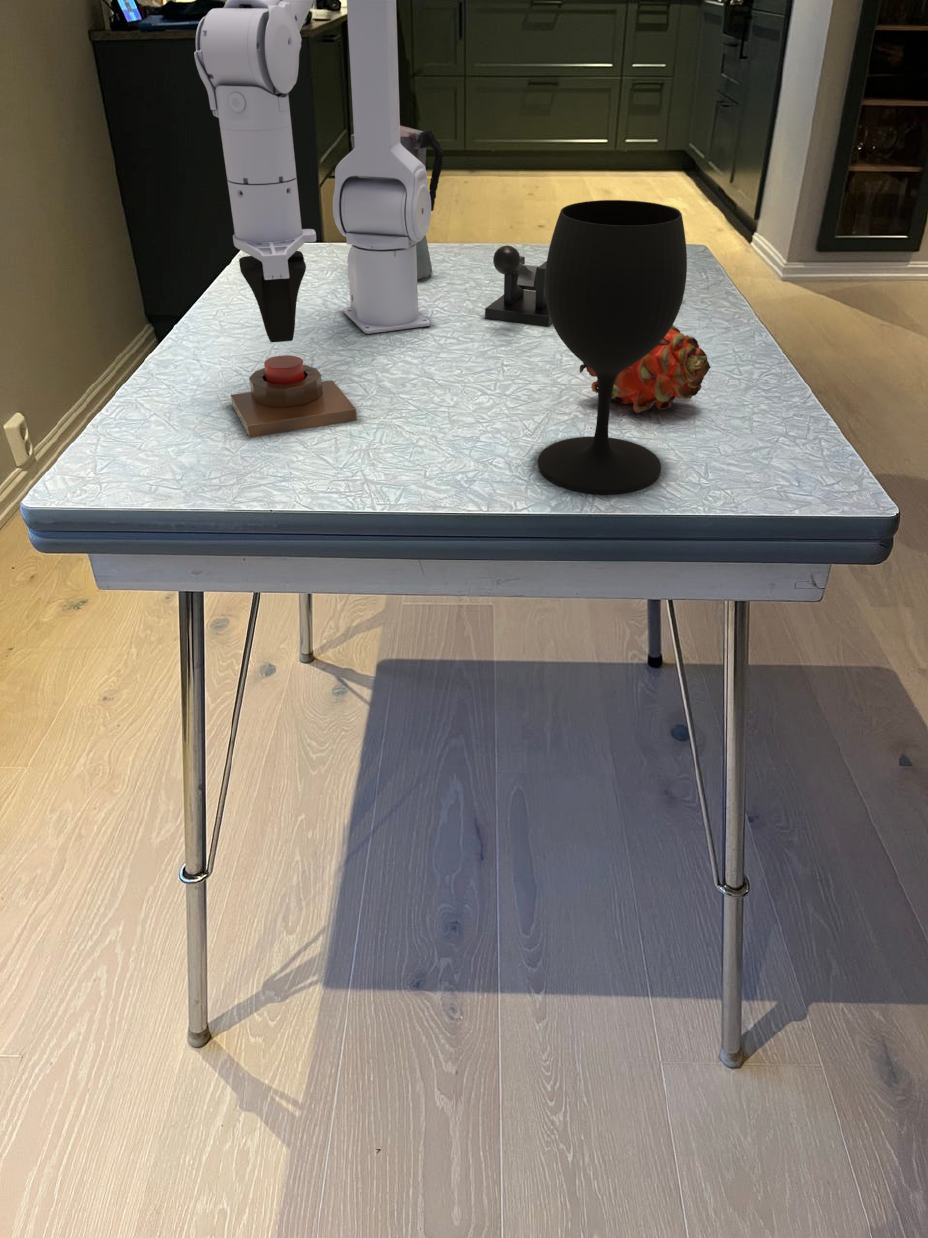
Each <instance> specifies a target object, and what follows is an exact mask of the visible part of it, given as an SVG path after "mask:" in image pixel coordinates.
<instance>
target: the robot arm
mask: <svg viewBox="0 0 928 1238" xmlns="http://www.w3.org/2000/svg"><path fill="white" fill-rule="evenodd" d="M314 1H315V0H226V2H225V4H224V6H223V7H216V8H212V9H210V10H209V11H208V12H207V14H206V15H205V16H203V17H202V18H201V19H200V20H199V23H198V25H197V28H196V33H195V51H193V52H194V53H193V55H194V61H195V65H196V68H197V71H198V75H199V78H200V79H201V81H202V83H203V85H204V87H205V89H206V92H207V96H208V103H209V107H210V108H209V109H210V110H211V111H212V115H213V117H216V118H218V122H219V128H220V129H219V130H220V137H221V143H222V152H223V159H224V165H225V166H224V167H225V174H226V180H227V181H226V182H227V187H228V194H229V201H230V208H231V209H230V210H231V216H232V223H233V231H234V234H233V235H232V241H233V246H234V247H235V248H236V249H238V250H239V251H242V252H243V253H245V254H246V256H242V257H240V258H238V263H239V268H240V269H239V270H240V273H241V275H242V277H243V278H244V280H245V281H246V283H247V284H248V286H249V288H250V289H251V291H252V294H253V296H254V298H255V300H256V303H257V305H258V308H259V313H260V316H261V320H262V323H263V326H264V329H265V332H266V335H267V337H268V340H269V342H270V343H283V342H293V340H294V336H295V330H296V329H295V328H296V315H297V313H296V311H297V301H298V295H299V292H300V288H301V284H302V282H303V279H304V276H305V274H306V271H307V264H306V261H305V256H304V253H303V252H302V251H300V250H299V249H300V248H301V247H302V246H303V245H304V244H307V243H314V242H316V241H317V233H316V230H315V229H313V228H303V227H302V218H301V208H300V199H299V188H298V179H297V178H298V177H297V168H296V159H295V157H296V156H295V149H294V137H293V127H292V117H291V109H290V107H291V106H290V98H289V93H290V92H291V91H292V90H293V88H294V86H295V85H296V84H297V81H298V76H299V67H300V51H301V48H302V40H303V38H302V35H301V33H300V32H301V30H302V28H303V25H304V23H305V21H306V20H307V16H308V14H309V12H310V10H311V8H312V5H313V4H314ZM346 13H347V33H348V49H349V67H350V85H351V101H352V102H351V105H352V121H353V134H354V142H355V148H354V149H353V148H352V150H351V151H349V153H348V154H346V155H345V156H344V157H343V158H342V159H341V160H340V161H338V164H337V165H336V167H335V170H334V171H335V172H334V190H333V197H332V217H333V221H334V224H335V227H336V228H337V230H338V231H339V233H340V234H341V235H342V236H343V237H345V238H346V239H345V240H346V245H351V246H350V248H349V251H348V253H347V271H348V286H349V300H350V302H349V303H350V306H346V307H343V308H342V311H343V313H344V314H345V315H346V316H347V317H348V318H349V319H350V320H351V321H352V322H353V323H354V324H355V325H356V326H357V327H358V328H359V329H360V330H361V331H362V332H363V333H364V334H368V335H369V334H377V333H378V334H379V333H385V332H394V331H400V330H407V329H408V330H409V329H417V328H423V327H430V326H431V321H430V320H429V319H428V318H426V316H424V315H423V314H422V313H421V312H420V311H419V291H418V279H417V258H416V243H417V242H419V241H421V240H422V239H423V237H424V236H425V235H426V236H427V233H428V231H429V228H430V225H431V218H432V211H431V198H430V193H429V192H430V190H429V184H428V173H427V170H426V169H427V168H426V165H425V166H424V165H423V164H422V163H421V161H419V160H418V159H417V158H416V157H415V156H413V155H412V154H411V153H410V152H409V151H408V150H406V149H405V148H404V147H403V146H402V144H401V143H400V126H401V119H400V118H401V117H400V86H399V85H400V84H399V54H398V53H399V51H398V49H399V48H398V20H397V0H346ZM359 176H369V177H388V178H395V179H378V178H359ZM397 179H398V180H397Z"/></svg>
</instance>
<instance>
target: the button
mask: <svg viewBox="0 0 928 1238" xmlns="http://www.w3.org/2000/svg"><path fill="white" fill-rule="evenodd" d="M303 365H304V360H303V358H301V357H299V356H297V355H289V354H288V355H276V356H272V357H269V358H267V359H266V360H265V361H264V362H263V368H265V375H266V381H267V382H269V383H272V384H291V383H297V382H300V381H302V380H304V379H305V375H304V366H303Z"/></svg>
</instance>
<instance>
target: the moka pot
mask: <svg viewBox="0 0 928 1238" xmlns="http://www.w3.org/2000/svg"><path fill="white" fill-rule="evenodd" d="M350 141H351V142H350V143H351V147H352V150H353V149H354V148H355V142H354V133H352V134H351V135H350ZM400 143H401V144H402V146H403V147H404V148H405V149H406V150H408V151H409V152H410V153H411V154H412V155H413V156H415V157H416V158H417V159H418V160H419V161H421V163H422V164H423V165H424V166H425V167H426V161H427V148H428V147H430V148H431V149H432V150H433V151H434V159H433V162H432V171H431V177H430V179H429V186H428V190H429V193H430V198H431V212H434V209H435V203H436V201H435V200H436V198H437V190H438V187H439V186H438V185H439V182H440V181H439V180H440V177H441V173H442V169H443V168H442V166H443V164H444V163H443V162H444V161H443V158H444V150H443V149H442V146H441V144H440V142H439V141H438V140H437V139H436V138H435V134H433V129H427V130H424V131H423V130H420V129H415V128H412V127H409V126H404V125H400ZM359 178H378V179H395V178H388V177H369V176H359ZM397 180H398V179H397ZM416 258H417V280H421V279H426V278H427V277H429V276H430V275H431V274H432V272H433V267H432V266H433V265H432V261H431V256H430V251H429V244H428V239H427V234H426V235H425V236H424V237H423V239H422V240H421V241H419V242H417V243H416Z"/></svg>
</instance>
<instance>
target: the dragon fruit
mask: <svg viewBox="0 0 928 1238" xmlns="http://www.w3.org/2000/svg"><path fill="white" fill-rule="evenodd" d="M711 368H712V366H711V365H710V362H709V361H708V355H707V353H706V352H705V351H704V350H703V348H701V347H700V345H699V342H698V340H697V338H695V337H694V336H689V335H688V334H686V335H685V334H684V333H683V332H681V330H680V329H679V328H678V327H676V326H675V325H674V324H673V325H672V327H671V329H670V330H669V332H668V333H667V334H666V336H665V337H664V338H663V339H662V341H661V342H660V343H659V344H658V345H657V346H656V347H655V348H654V349H653V350H652V351H651V352H649V353H648V354H647V355H646V356H645V357H643V358H642V359H640V360H639V361H637V362H636V363H634V364H633V365H631V366H630V367H628V368H626V369H624V370H623V371H621V372H620V373H619V374H618V375H617V377H616V379H615V382H614V386H613V391H612V396H611V399H612V400H613V399H614V400H616V401H617V402H619V403H620V404H621V405H622V404H623V405H628V404H632V406H633V407H632V409H633V411H634V413H636V414H640V413H642V412H644V411H648V410H650V409H651V408H652V407H653V405H654V406H655V408H657V410H660V411H661V410H668V409H669V408H671V407H672V406H673V404H674V400H675V399H680V400H685V401H686V400H690V399H692V398H693V397H694V396H696V395H697V394H698V393H699V392H700V391H701V389H702V388H703V387H702V383H703V381H704V379H705V376H707V374H708V372H709V371H710V369H711ZM585 369H586V370H585ZM584 370H585V371H587V373H588V374H589V376H591V377H593V378H594V377H595V378H597V376H596V373H595V372H594V371H593V370H592V369H591V368H590V367H588V366H587V365H586V364H585V363H583V362H582V364H580V366H579V374H582V373H584ZM591 390H592V392H594V393H595V394H596V395H598V381H597V380H596V381H593V382H592V383H591Z"/></svg>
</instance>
